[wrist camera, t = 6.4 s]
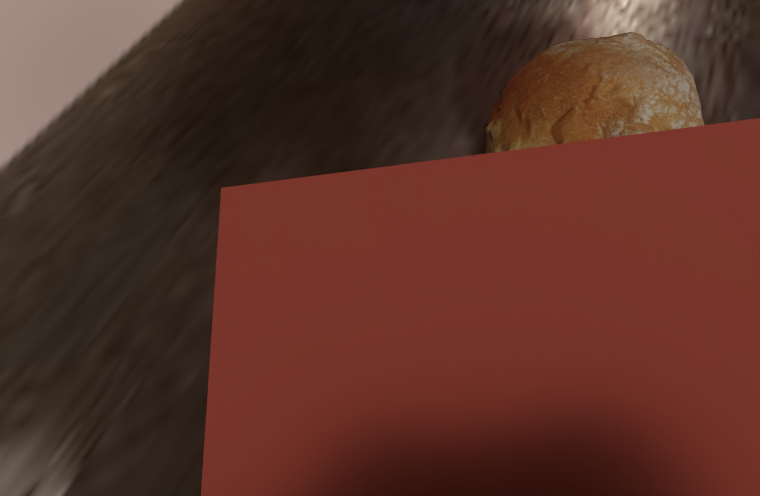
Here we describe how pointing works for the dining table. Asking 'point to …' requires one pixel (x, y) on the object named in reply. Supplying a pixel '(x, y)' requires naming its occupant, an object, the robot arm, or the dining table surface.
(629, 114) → the bread roll
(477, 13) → the dining table surface
